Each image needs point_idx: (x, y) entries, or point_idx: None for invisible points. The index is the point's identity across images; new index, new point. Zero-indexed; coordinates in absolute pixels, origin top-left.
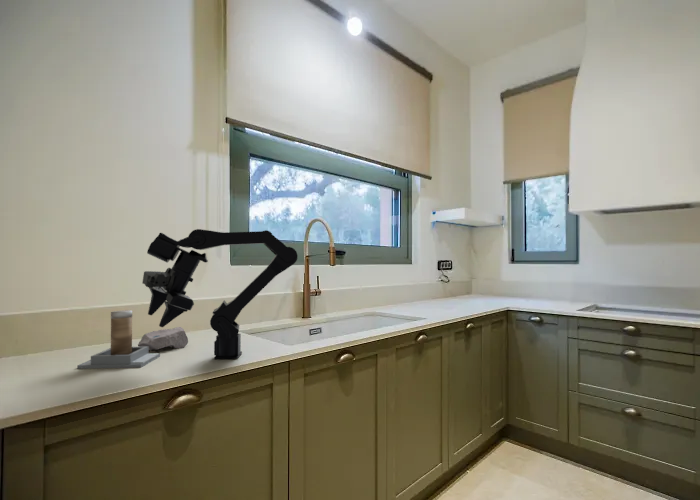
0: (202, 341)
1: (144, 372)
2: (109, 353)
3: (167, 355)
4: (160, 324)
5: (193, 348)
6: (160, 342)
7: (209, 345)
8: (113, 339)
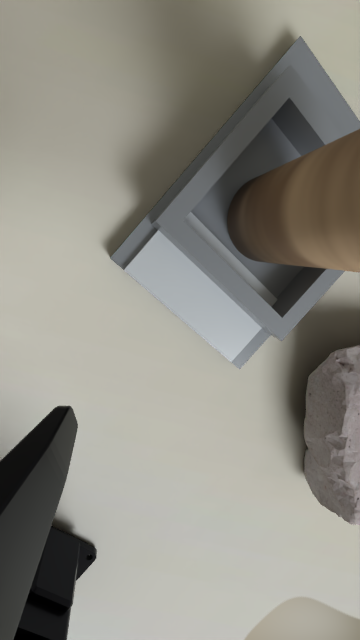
0: (334, 538)
1: (13, 244)
2: None
3: (227, 390)
4: (44, 420)
5: (258, 490)
6: (324, 402)
7: (257, 544)
8: (312, 151)
